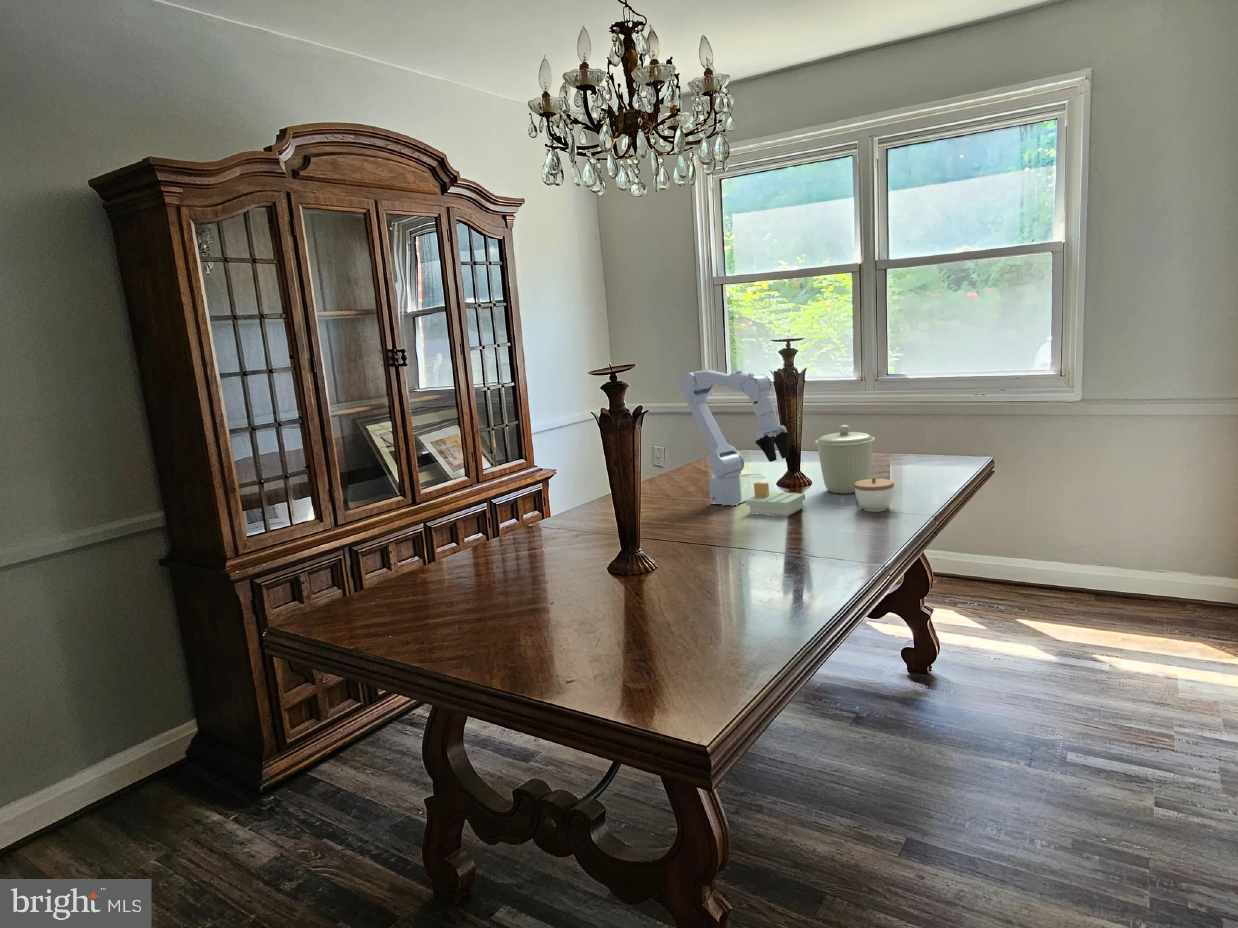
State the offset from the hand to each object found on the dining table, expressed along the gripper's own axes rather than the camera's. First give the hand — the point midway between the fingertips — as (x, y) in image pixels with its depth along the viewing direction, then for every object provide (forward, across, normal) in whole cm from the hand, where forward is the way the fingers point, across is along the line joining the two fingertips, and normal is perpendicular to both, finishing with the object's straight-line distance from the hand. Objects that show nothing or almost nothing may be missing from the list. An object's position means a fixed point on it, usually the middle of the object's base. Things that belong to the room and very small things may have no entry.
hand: (779, 459), depth 223 cm
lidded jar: (+21, +11, -19) cm, 30 cm away
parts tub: (+14, +1, +6) cm, 16 cm away
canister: (+15, +31, -3) cm, 34 cm away
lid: (+11, 0, +5) cm, 12 cm away
